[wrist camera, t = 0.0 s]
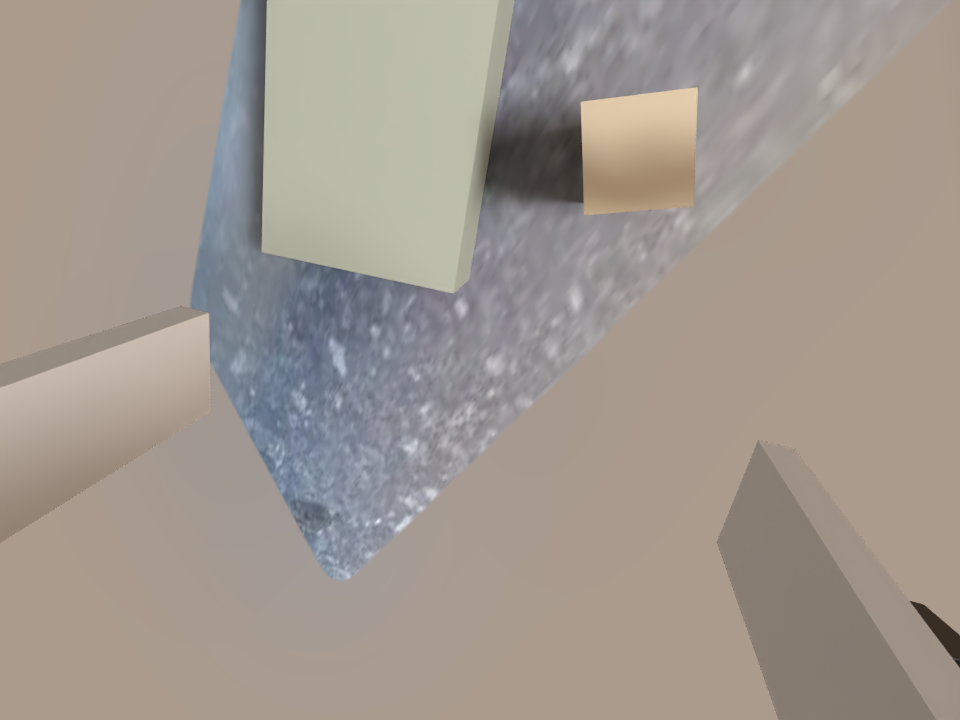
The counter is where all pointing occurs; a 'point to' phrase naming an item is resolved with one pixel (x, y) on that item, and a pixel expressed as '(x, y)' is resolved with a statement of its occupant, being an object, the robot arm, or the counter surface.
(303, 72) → the block
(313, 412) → the counter surface
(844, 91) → the counter surface
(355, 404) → the counter surface
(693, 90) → the birch block
